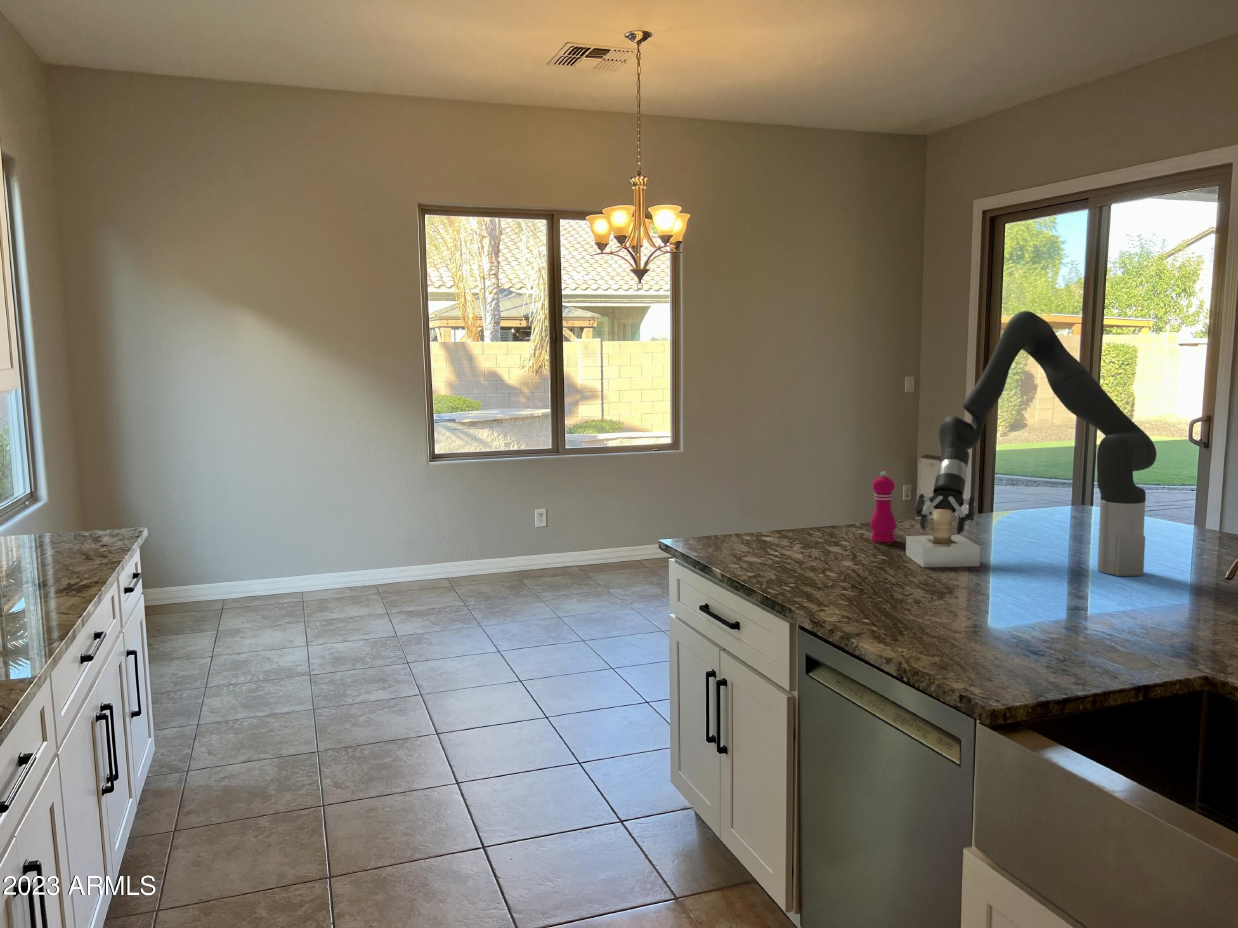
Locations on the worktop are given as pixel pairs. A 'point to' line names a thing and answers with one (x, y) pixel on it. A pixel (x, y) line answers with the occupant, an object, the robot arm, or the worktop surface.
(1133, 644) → the worktop surface
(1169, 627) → the worktop surface
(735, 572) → the worktop surface
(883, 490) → the pepper mill
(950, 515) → the peg
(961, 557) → the white square frame block
